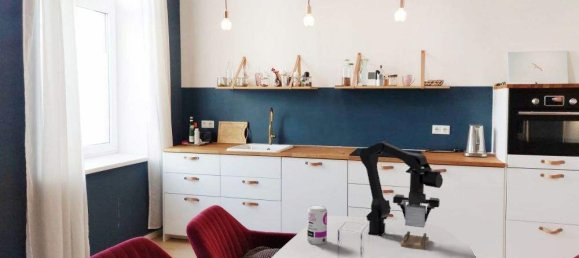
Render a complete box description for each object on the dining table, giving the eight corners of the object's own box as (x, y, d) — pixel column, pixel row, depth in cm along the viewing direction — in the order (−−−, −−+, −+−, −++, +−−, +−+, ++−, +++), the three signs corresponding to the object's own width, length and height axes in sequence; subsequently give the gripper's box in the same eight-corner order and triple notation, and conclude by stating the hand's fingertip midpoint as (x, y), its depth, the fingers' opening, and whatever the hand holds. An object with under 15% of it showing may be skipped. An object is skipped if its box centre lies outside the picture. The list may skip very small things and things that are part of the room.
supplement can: (328, 240, 208) (329, 206, 207) (323, 245, 200) (324, 210, 199) (310, 238, 211) (311, 204, 210) (304, 243, 203) (305, 208, 202)
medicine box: (425, 225, 205) (426, 205, 205) (423, 228, 201) (424, 207, 201) (406, 223, 208) (407, 203, 208) (404, 225, 204) (405, 205, 204)
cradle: (400, 246, 201) (401, 239, 201) (405, 237, 213) (405, 231, 213) (425, 249, 198) (425, 242, 197) (428, 240, 210) (428, 233, 209)
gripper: (391, 185, 199) (390, 222, 201) (438, 189, 193) (436, 228, 194) (395, 181, 210) (394, 216, 211) (440, 185, 203) (438, 221, 204)
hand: (415, 220), depth 205 cm, fingers closed on medicine box, 8 cm apart
